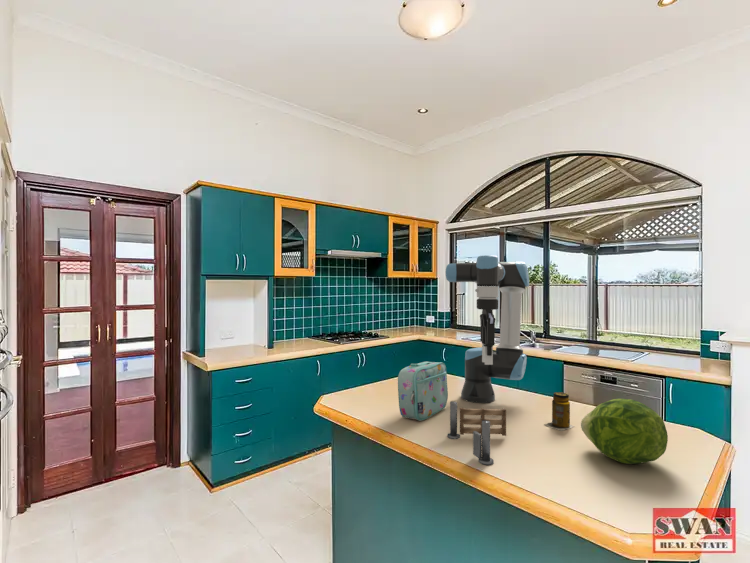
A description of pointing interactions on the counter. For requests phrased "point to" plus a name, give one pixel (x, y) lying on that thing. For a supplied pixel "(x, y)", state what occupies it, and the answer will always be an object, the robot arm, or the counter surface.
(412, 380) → the lunch box
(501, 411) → the gate
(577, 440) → the counter surface
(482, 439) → the post
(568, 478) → the counter surface
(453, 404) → the hinge post
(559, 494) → the counter surface
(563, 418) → the condiment
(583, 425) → the lettuce
